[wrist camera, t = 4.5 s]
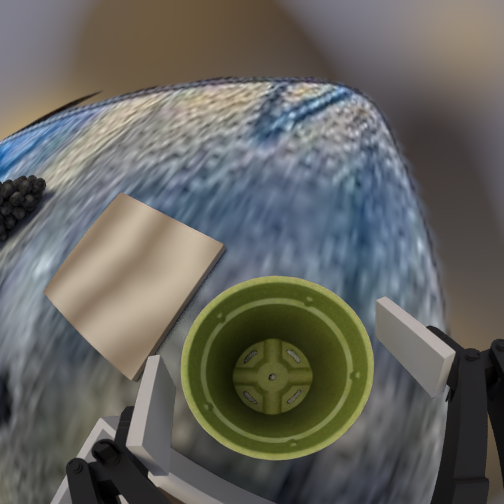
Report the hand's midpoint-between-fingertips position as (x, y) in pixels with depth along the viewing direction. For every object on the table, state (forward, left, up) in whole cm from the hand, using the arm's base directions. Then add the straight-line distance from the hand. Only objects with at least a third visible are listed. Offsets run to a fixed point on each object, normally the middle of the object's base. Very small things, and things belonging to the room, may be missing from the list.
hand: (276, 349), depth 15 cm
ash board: (-15, -1, -6) cm, 16 cm away
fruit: (-38, -4, -6) cm, 39 cm away
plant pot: (+1, -1, -6) cm, 6 cm away
